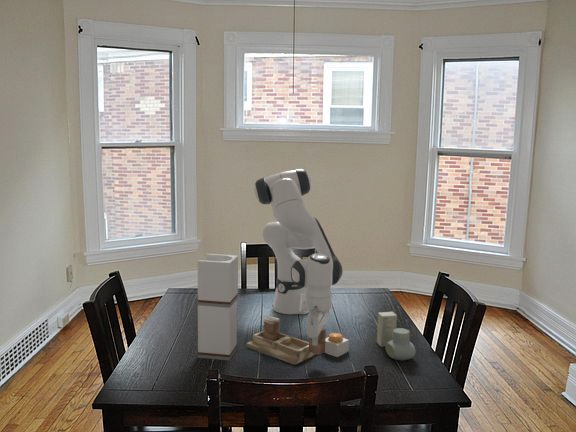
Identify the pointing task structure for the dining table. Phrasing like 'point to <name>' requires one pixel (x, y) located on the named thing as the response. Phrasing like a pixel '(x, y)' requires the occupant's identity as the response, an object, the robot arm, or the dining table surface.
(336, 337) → the button
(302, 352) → the wooden compartment tray
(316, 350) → the block
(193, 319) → the dining table surface
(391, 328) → the skincare box
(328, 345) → the button housing
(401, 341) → the air freshener
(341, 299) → the dining table surface
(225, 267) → the tall open-top box
